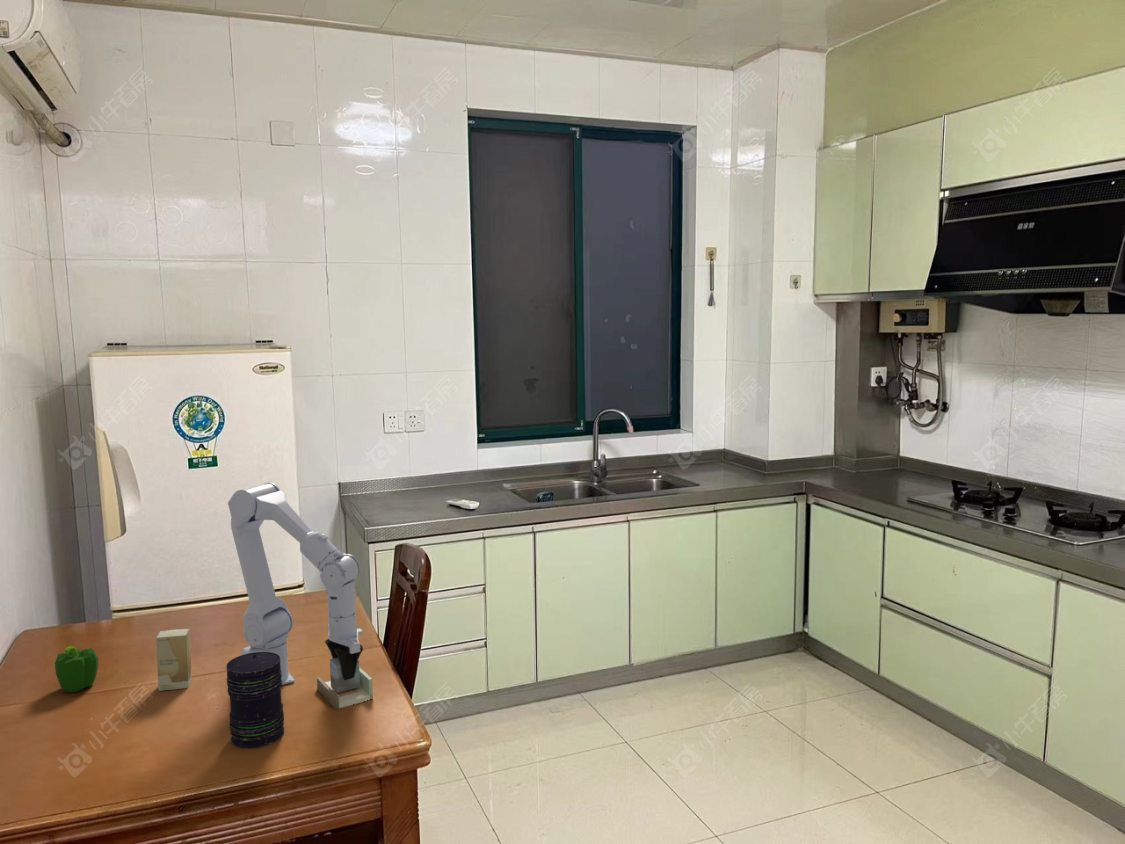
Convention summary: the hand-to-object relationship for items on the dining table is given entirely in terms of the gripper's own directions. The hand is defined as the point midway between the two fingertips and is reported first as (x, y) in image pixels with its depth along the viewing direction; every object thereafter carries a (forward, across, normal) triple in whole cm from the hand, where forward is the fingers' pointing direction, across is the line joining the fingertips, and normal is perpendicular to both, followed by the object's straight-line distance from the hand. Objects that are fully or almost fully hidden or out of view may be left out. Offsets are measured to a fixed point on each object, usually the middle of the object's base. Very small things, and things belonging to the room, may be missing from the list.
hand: (345, 674), depth 175 cm
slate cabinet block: (+3, 0, 0) cm, 3 cm away
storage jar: (+4, -8, +20) cm, 22 cm away
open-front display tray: (+4, 0, 0) cm, 4 cm away
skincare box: (+4, +26, +29) cm, 39 cm away
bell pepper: (+4, +38, +47) cm, 61 cm away
